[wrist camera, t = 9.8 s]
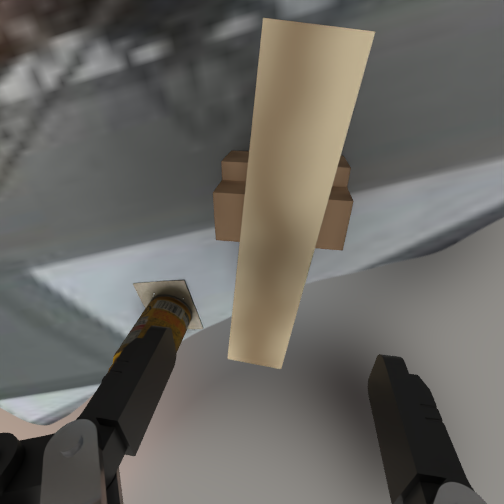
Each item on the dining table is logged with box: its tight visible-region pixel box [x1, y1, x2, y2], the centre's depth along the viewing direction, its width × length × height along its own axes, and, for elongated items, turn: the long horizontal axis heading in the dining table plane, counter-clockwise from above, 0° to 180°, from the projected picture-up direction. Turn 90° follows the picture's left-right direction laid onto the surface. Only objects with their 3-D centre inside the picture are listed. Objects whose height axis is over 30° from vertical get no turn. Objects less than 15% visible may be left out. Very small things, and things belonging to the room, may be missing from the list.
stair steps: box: [213, 151, 353, 250], centre depth 24 cm, size 10×7×7 cm
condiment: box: [102, 281, 203, 381], centre depth 32 cm, size 7×8×12 cm
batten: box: [228, 18, 375, 369], centre depth 19 cm, size 4×22×4 cm, turn 174°
